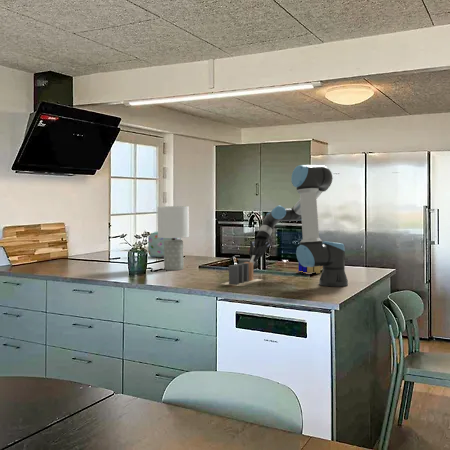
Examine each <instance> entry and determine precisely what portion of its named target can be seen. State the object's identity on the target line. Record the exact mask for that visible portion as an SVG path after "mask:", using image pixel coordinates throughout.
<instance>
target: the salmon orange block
mask: <svg viewBox="0 0 450 450" xmlns="http://www.w3.org/2000/svg"><path fill="white" fill-rule="evenodd" d="M243 263H249V280H253V279H254V265H253V262H250V261H244V262H243Z"/></svg>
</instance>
